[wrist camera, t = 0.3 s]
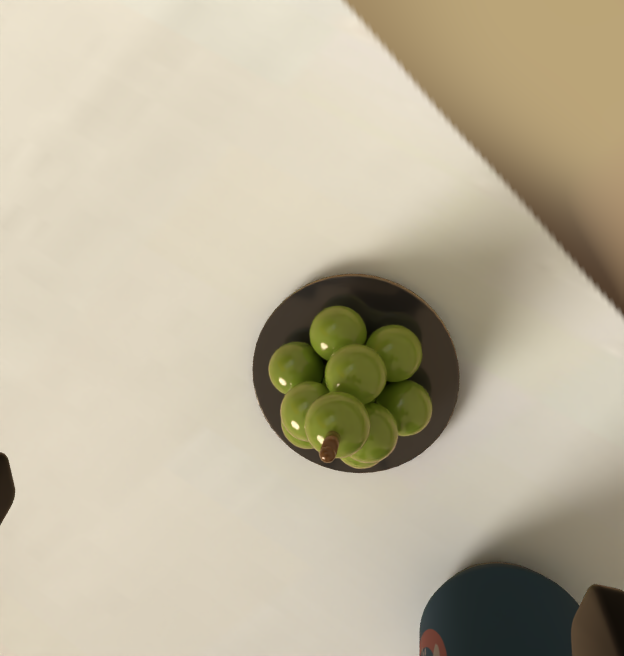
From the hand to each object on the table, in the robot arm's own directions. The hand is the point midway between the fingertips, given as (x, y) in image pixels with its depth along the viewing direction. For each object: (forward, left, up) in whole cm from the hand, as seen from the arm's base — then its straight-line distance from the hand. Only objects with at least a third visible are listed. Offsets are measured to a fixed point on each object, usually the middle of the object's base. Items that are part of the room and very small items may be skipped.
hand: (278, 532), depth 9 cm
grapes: (-2, -2, -16) cm, 16 cm away
